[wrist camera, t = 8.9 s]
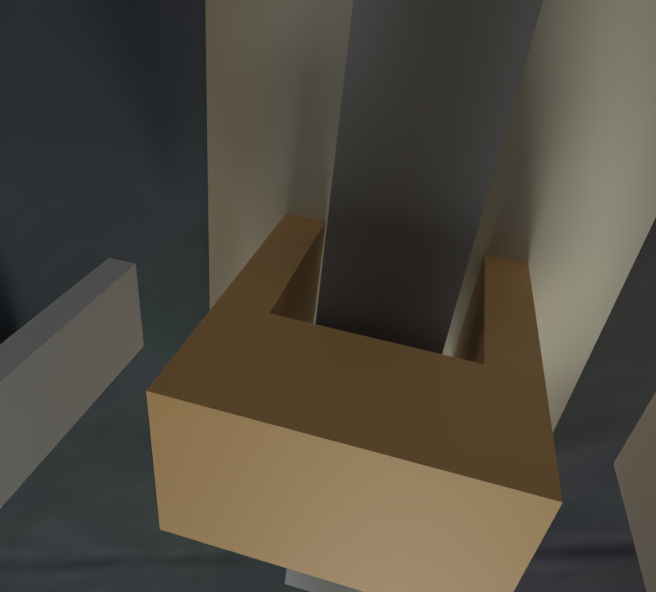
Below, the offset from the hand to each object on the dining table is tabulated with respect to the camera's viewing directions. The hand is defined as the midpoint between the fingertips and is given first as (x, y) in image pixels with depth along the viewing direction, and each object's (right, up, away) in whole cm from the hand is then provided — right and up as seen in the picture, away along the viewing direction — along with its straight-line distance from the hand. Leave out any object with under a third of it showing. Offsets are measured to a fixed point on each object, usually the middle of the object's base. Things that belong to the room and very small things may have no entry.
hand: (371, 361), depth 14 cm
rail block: (+1, +2, +4) cm, 4 cm away
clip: (+1, +2, +3) cm, 3 cm away
